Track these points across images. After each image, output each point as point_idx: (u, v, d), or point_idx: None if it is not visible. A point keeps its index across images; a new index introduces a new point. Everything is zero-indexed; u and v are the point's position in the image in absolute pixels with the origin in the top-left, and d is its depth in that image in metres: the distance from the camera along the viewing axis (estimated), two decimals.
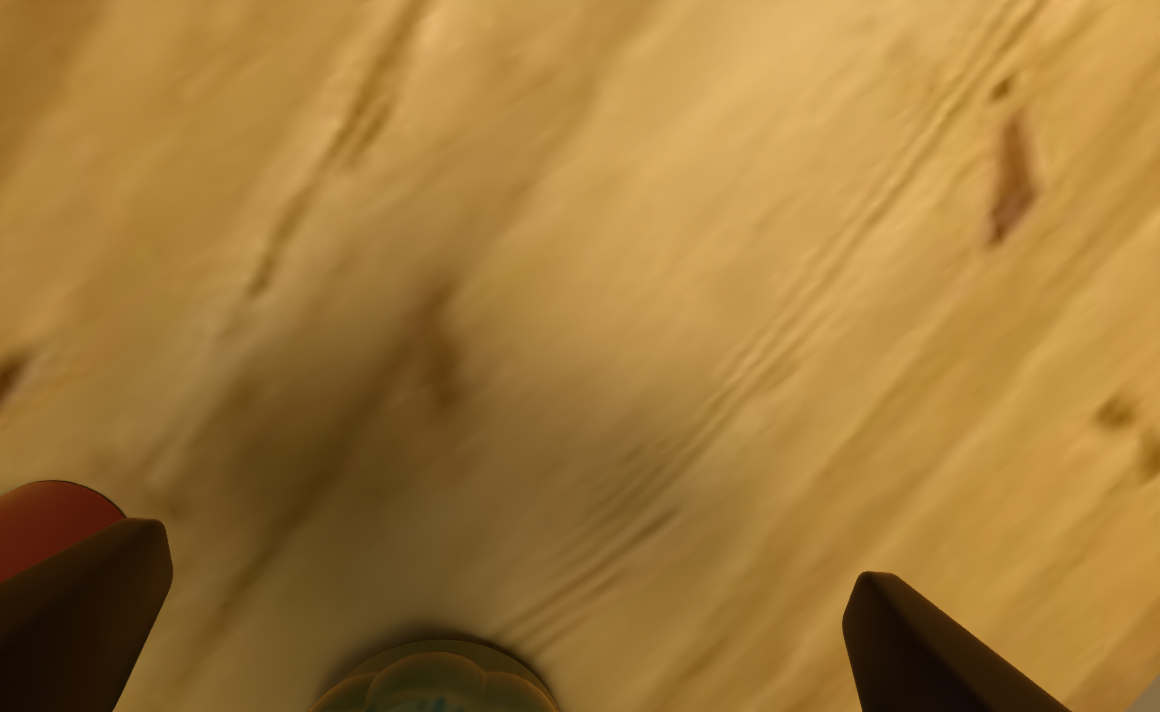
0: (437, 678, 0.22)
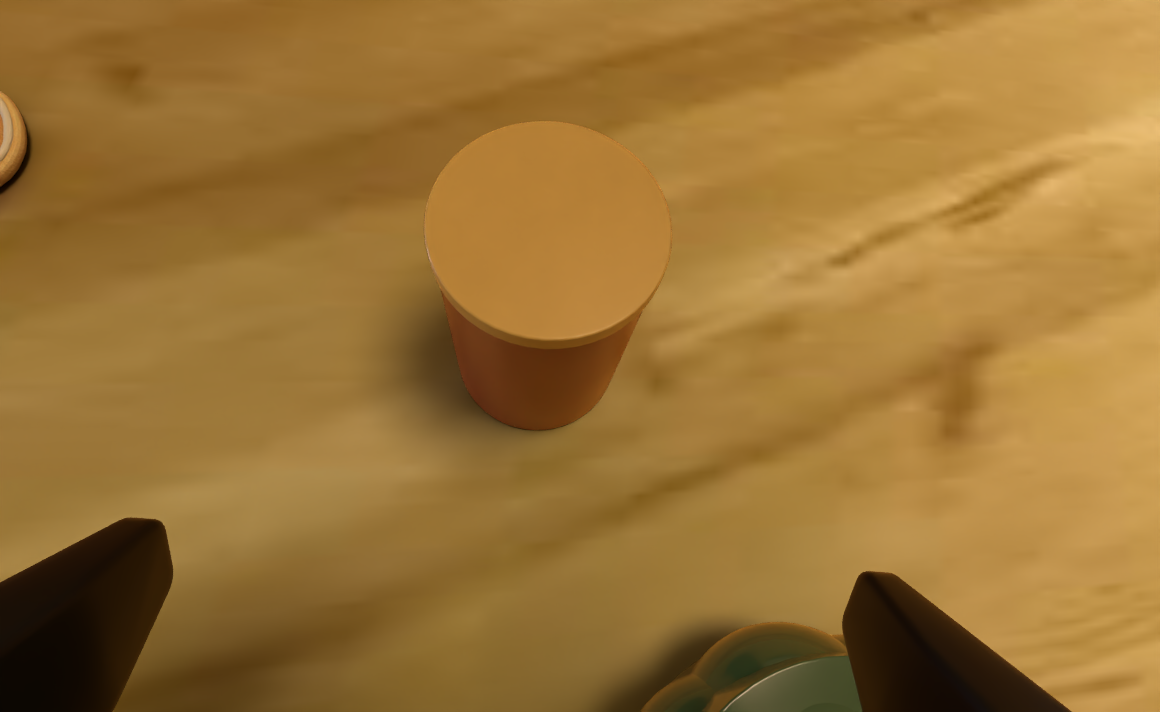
0: None
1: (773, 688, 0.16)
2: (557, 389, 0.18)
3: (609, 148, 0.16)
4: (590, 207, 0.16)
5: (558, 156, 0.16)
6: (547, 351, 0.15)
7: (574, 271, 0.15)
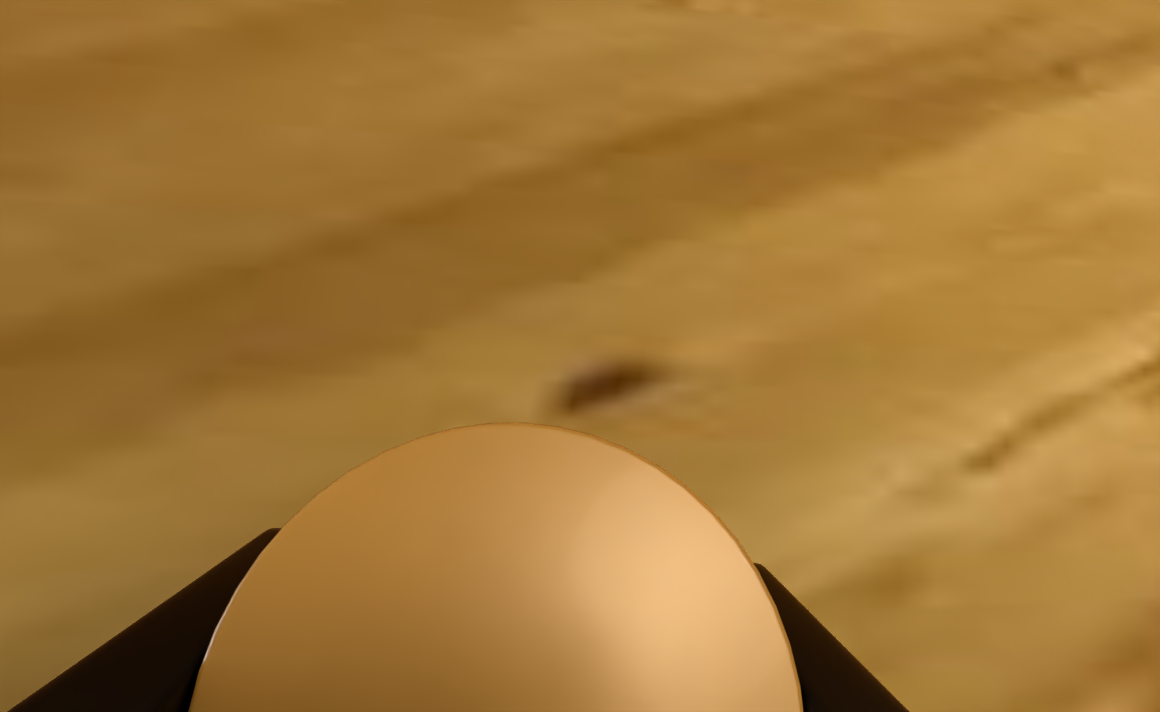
0: None
1: None
2: None
3: (649, 491, 0.07)
4: (606, 666, 0.06)
5: (530, 521, 0.07)
6: None
7: None
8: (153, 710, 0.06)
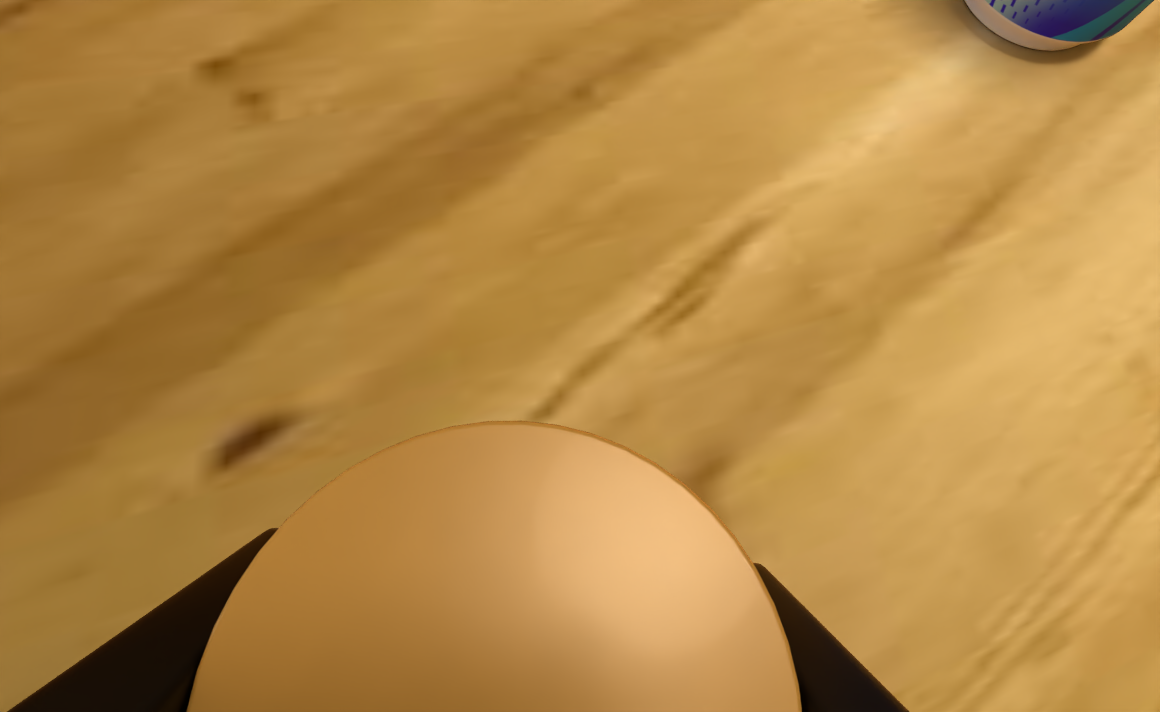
0: None
1: None
2: None
3: (648, 489, 0.07)
4: (605, 664, 0.06)
5: (529, 519, 0.07)
6: None
7: None
8: (153, 710, 0.06)
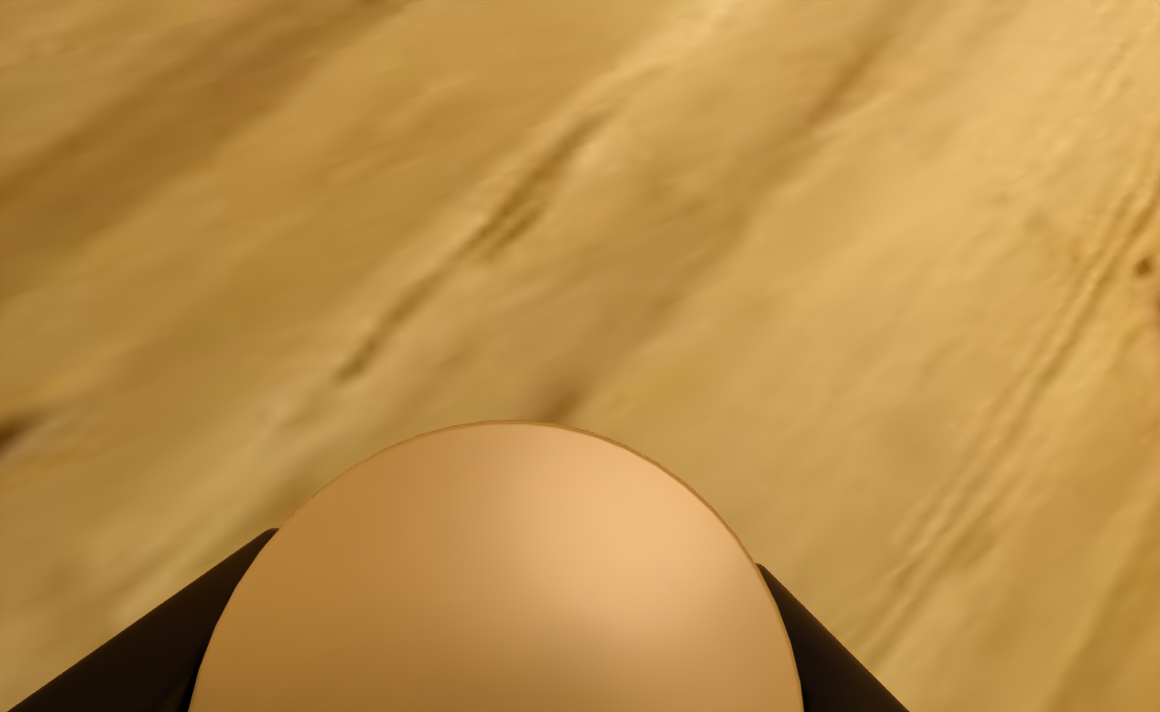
0: None
1: None
2: None
3: (650, 489, 0.07)
4: (607, 663, 0.06)
5: (530, 518, 0.07)
6: None
7: None
8: (152, 710, 0.06)
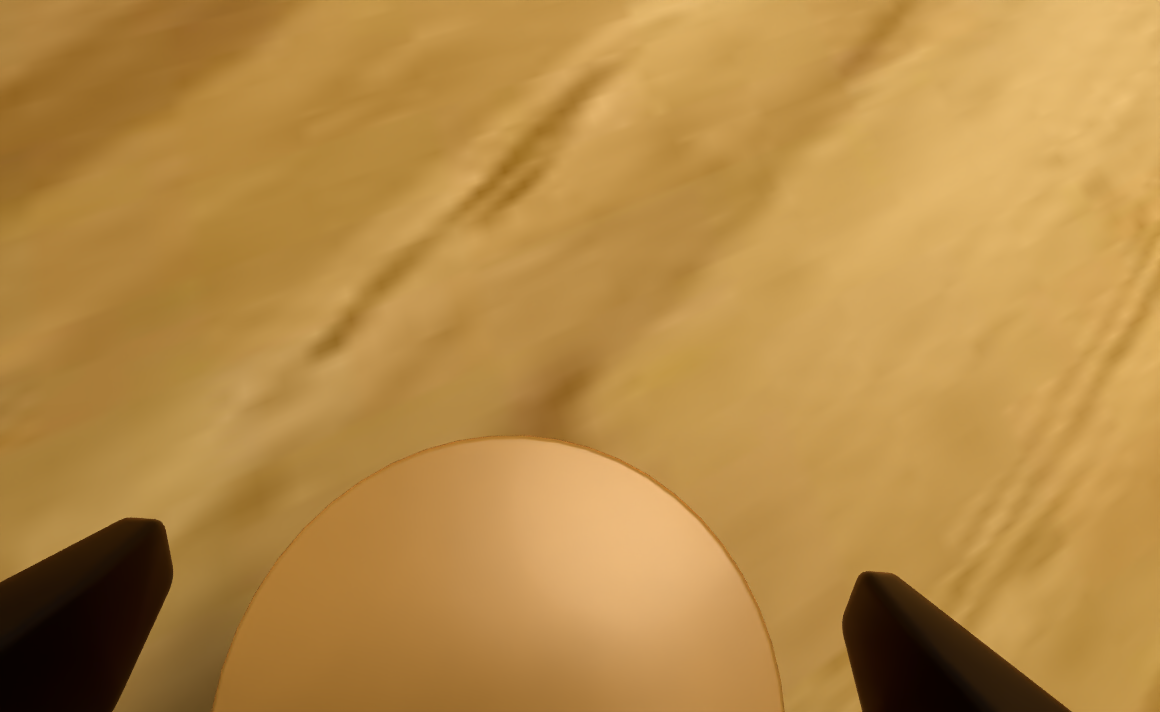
0: None
1: None
2: None
3: (642, 500, 0.07)
4: (600, 663, 0.07)
5: (529, 528, 0.07)
6: None
7: None
8: None
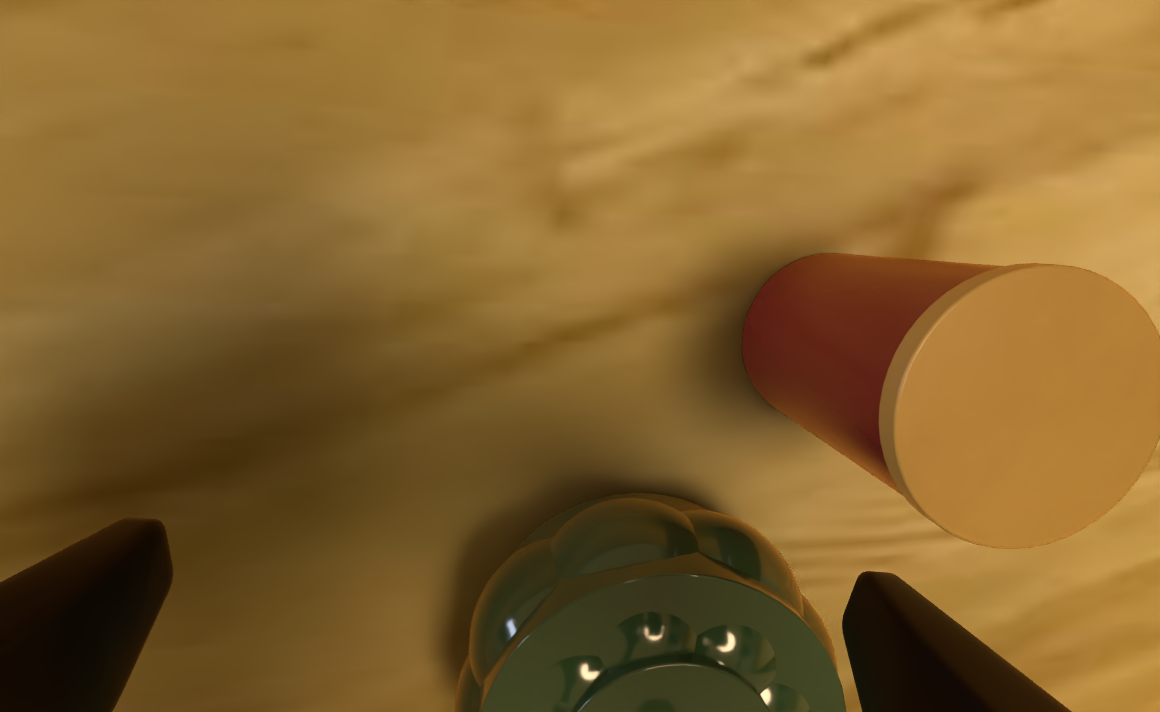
0: (775, 551, 0.19)
1: (606, 599, 0.16)
2: None
3: (1151, 352, 0.13)
4: (1084, 414, 0.13)
5: (1095, 336, 0.13)
6: None
7: (1022, 476, 0.13)
8: None
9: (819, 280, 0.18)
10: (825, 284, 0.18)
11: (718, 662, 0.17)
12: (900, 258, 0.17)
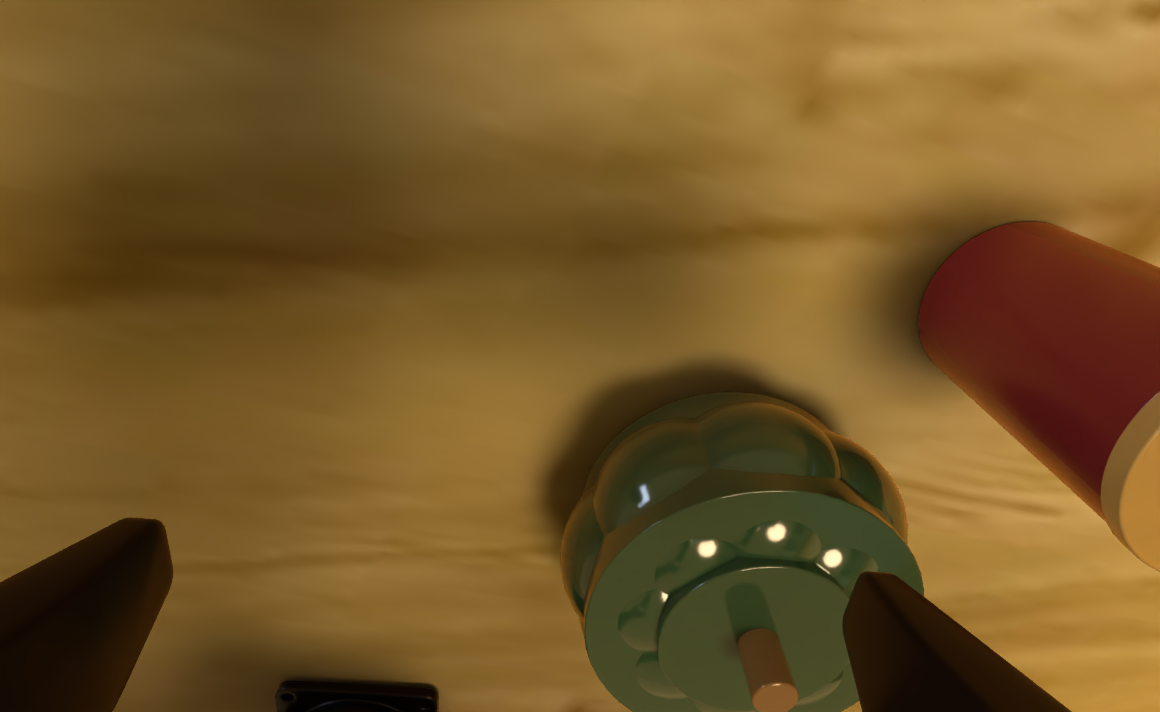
0: None
1: (759, 500, 0.17)
2: (1029, 451, 0.18)
3: None
4: None
5: None
6: (1105, 520, 0.15)
7: None
8: None
9: (1059, 260, 0.18)
10: (1069, 269, 0.17)
11: (833, 577, 0.18)
12: (1154, 266, 0.17)
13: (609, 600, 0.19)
